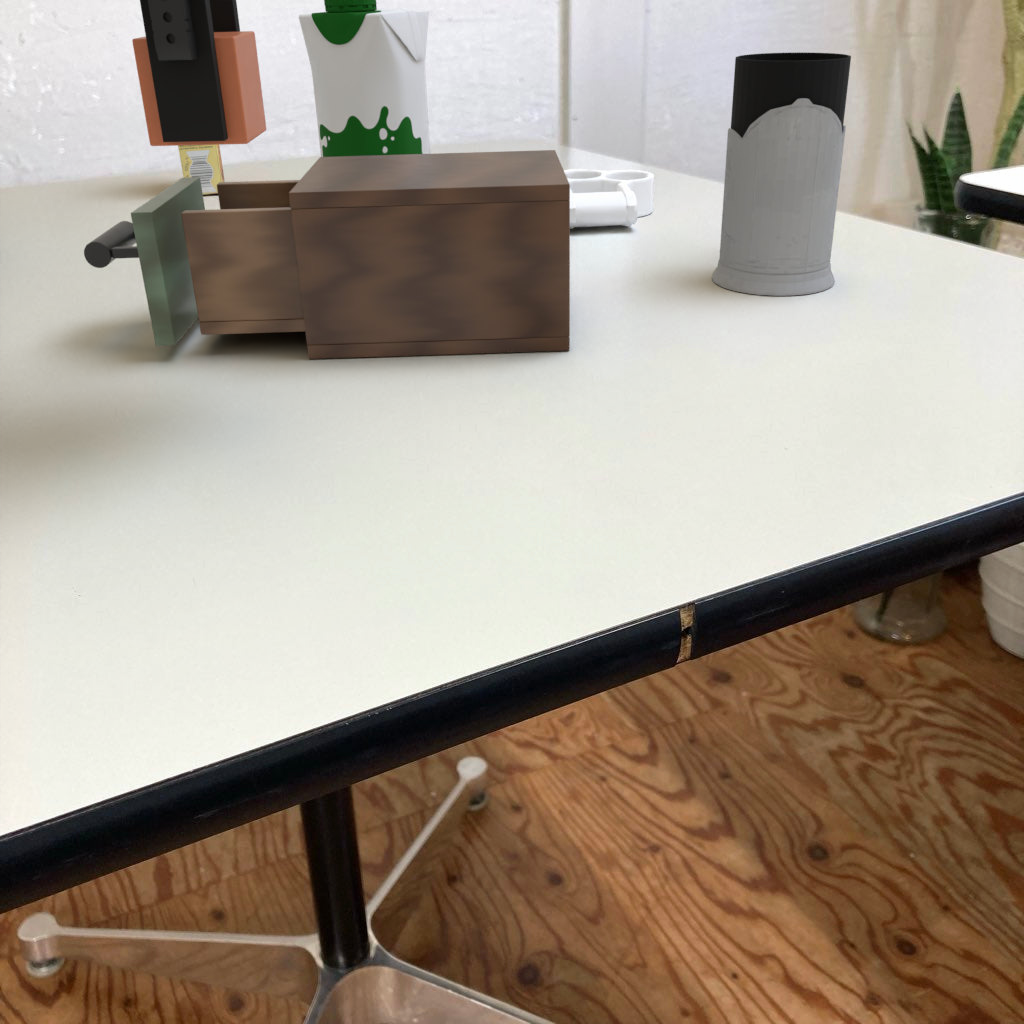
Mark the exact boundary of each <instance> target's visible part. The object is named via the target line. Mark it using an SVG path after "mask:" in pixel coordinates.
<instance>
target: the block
mask: <svg viewBox="0 0 1024 1024" xmlns="http://www.w3.org/2000/svg"><path fill="white" fill-rule="evenodd" d="M214 40H215V47H216V54H217V62H218V69H219V76H220V84H221V91H222V98H223V105H224V113H225V120H226V127H227V134H228V139H227V140H225V141H193V142H163V137H162V131H161V125H160V119H159V113H158V107H157V101H156V95H155V89H154V83H153V77H152V71H151V65H150V59H149V53H148V47H147V41H146V35H145V36H141V37H140V36H139V37H136V38H132V40H131V41H132V47H133V52H134V53H133V54H134V59H135V65H136V70H137V77H138V81H139V88H140V93H141V100H142V106H143V111H144V117H145V123H146V128H147V134H148V140H149V145H150V146H151V147H171V146H172V147H173V146H177V147H178V145H219V146H221V145H247V144H249V143H250V142H252V141H253V140H255V139H256V138H258V137H259V136H260V135H262V134H263V133H264V132H266V131H267V123H266V115H265V105H264V98H263V90H262V82H261V81H262V80H261V74H260V73H261V72H260V66H259V65H260V64H259V57H258V51H257V50H258V49H257V41H256V33H255V31H253V30H247V31H245V30H242V31H241V30H240V32H214Z"/></svg>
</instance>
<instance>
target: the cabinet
mask: <svg viewBox="0 0 1024 1024" xmlns="http://www.w3.org/2000/svg"><path fill="white" fill-rule="evenodd" d="M564 170H565V169H564V168H563V166H562V163H561V161H560V158H559V156H558V154H557V151H556V150H555V149H545V150H544V149H542V150H539V149H538V150H512V151H511V150H510V151H478V152H477V151H473V152H445V153H441V152H440V153H430V154H406V155H372V156H339V157H321V156H319V157H318V159H317V160H316V161H315V162H314V163H313V165H312V166H311V167H310V168H309V169H308V170H307V171H306V173H304V175H303V176H302V177H301V178H300V179H299V180H300V181H299V182H298V183H297V184H296V185H295V186H294V187H293V189H292V190H291V191H290V192H289V200H290V208H291V217H292V225H293V234H294V242H295V250H296V259H297V267H298V275H299V284H300V292H301V300H302V308H303V317H304V325H305V333H304V334H305V341H306V347H307V356H308V359H309V360H322V359H324V360H325V359H352V358H353V359H356V358H383V357H385V358H386V357H414V356H415V357H417V356H446V355H474V354H475V355H476V354H477V355H478V354H479V355H480V354H504V353H506V354H509V353H511V354H512V353H535V352H536V353H537V352H569V351H570V349H571V348H570V347H571V346H570V344H571V343H570V341H571V340H570V338H571V337H570V335H571V334H570V331H571V329H570V325H571V323H570V321H571V320H570V319H571V318H570V317H571V316H570V315H571V314H570V312H571V311H570V310H571V309H570V307H571V303H570V302H571V301H570V300H571V299H570V298H571V296H570V294H571V290H570V289H571V287H570V285H571V284H570V283H571V278H570V277H571V276H570V274H571V272H570V270H571V269H570V267H571V266H570V265H571V263H570V262H571V260H570V257H571V247H570V246H571V245H570V243H571V237H570V236H571V234H570V233H571V230H570V201H569V200H570V184H569V182H568V180H567V177H566V175H565V172H564Z"/></svg>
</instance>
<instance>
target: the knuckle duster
mask: <svg viewBox="0 0 1024 1024" xmlns="http://www.w3.org/2000/svg"><path fill="white" fill-rule="evenodd" d="M563 170H564V172H565V175H566V177H567V180H568V182H569V184H570V200H569V201H570V229H572V230H573V229H575V228H586V227H588V228H589V227H606V226H607V227H608V226H622V227H632V226H633V225H635V224H636V223H637V221H638V218H641V217H646V216H649V215H651V214H652V213H653V211H654V205H655V201H654V200H655V199H654V198H655V175H654V173H652V172H650V171H646V170H639V169H611V170H610V169H609V170H608V169H607V170H606V169H605V170H604V169H603V170H602V169H601V170H600V169H590V168H589V169H588V168H584V169H583V168H569V169H563Z"/></svg>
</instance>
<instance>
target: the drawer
mask: <svg viewBox="0 0 1024 1024" xmlns="http://www.w3.org/2000/svg"><path fill="white" fill-rule="evenodd" d="M299 181H300V179H286V180H282V179H281V180H280V179H279V180H254V181H253V180H252V181H251V180H249V181H224V182H220V183H218V184H217V190H218V194H217V196H218V202H219V208H218V209H206V206H205V200H204V195H203V193H202V187H201V180H200V177H181V178H179V180H177V181H176V182H174V183H172V184H171V185H169V186H168V187H167V188H164V189H163V190H162V191H161V192H159V193H158V194H156V195H155V196H153V197H152V198H150V199H149V200H148V201H146V202H145V203H144V204H142V205H140V206H139V207H137V208H136V209H134V210H133V211H132V212H130V218H131V221H128V220H123V221H122V220H121V221H119V222H117V223H116V224H115V225H113V226H112V227H110V228H109V229H108V230H106V231H104V232H103V233H101V234H100V235H99V236H98V237H96V238H95V239H92V241H90V242H89V243H87V244H86V245H85V247H84V250H83V255H84V258H85V261H86V262H87V263H88V264H89V265H90V266H92V267H93V268H96V269H103V268H106V267H107V266H109V265H110V264H112V263H113V262H114V261H115V260H117V259H139V265H140V271H141V275H142V279H143V281H142V282H143V286H144V290H145V296H146V301H147V307H148V312H149V317H150V318H149V319H150V323H151V327H152V334H153V338H154V343H155V347H164V346H166V347H167V346H176V345H177V344H178V342H179V341H180V340H181V339H182V338H183V337H184V335H185V334H186V333H187V332H188V330H189V329H190V328H191V327H192V326H193V325H194V324H195V322H196V320H197V319H198V322H199V323H198V325H199V330H200V331H199V332H200V335H202V336H205V335H206V336H208V335H238V334H243V335H244V334H270V333H273V334H275V333H296V332H297V333H303V332H305V325H304V317H303V308H302V300H301V292H300V284H299V275H298V267H297V259H296V250H295V242H294V234H293V225H292V217H291V208H290V200H289V192H290V191H291V190H292V189H293V187H294V186H295V185H296V184H297V183H298V182H299Z"/></svg>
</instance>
